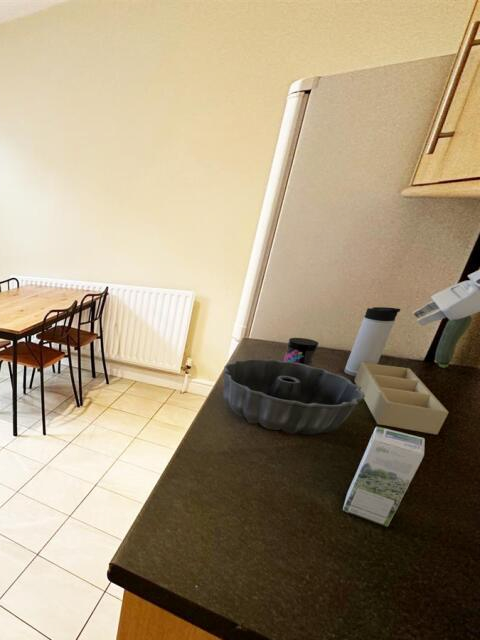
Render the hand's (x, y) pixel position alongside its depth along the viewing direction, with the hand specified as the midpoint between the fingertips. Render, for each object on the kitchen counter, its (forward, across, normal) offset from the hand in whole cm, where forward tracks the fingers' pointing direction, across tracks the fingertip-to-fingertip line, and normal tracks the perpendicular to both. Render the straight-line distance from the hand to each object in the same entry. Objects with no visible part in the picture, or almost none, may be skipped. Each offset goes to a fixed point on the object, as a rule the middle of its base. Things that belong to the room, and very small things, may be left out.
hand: (416, 318), depth 110 cm
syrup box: (+18, +74, +8) cm, 77 cm away
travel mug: (+17, +1, +8) cm, 19 cm away
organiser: (+13, +21, +12) cm, 27 cm away
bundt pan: (+28, +44, -3) cm, 53 cm away
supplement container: (+28, +12, -3) cm, 30 cm away
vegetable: (+4, -20, +20) cm, 29 cm away
